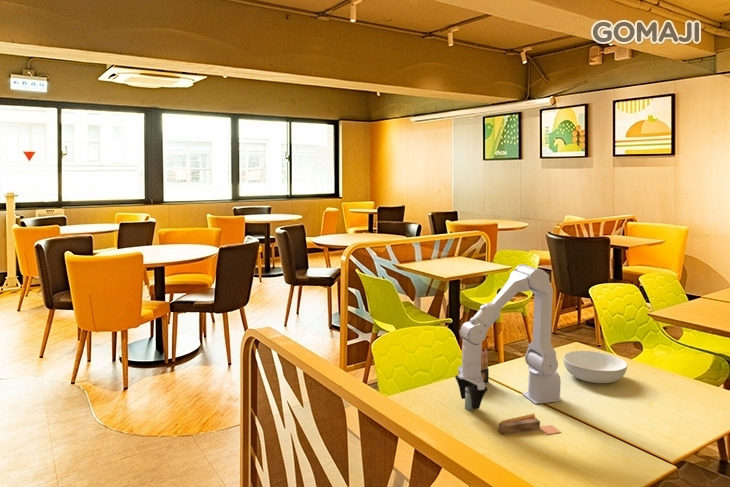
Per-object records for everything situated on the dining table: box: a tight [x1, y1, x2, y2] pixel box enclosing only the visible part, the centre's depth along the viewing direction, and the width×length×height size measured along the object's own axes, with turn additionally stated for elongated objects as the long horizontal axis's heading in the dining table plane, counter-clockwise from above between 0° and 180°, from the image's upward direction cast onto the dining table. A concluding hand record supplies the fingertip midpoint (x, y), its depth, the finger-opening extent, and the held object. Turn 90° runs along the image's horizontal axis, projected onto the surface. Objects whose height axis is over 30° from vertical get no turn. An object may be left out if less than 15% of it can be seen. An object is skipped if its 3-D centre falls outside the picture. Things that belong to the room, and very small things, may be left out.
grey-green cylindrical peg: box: [464, 386, 476, 412], centre depth 175 cm, size 3×3×6 cm
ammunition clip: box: [471, 348, 490, 386], centre depth 194 cm, size 11×2×12 cm, turn 118°
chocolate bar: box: [499, 413, 536, 423], centre depth 166 cm, size 3×12×2 cm, turn 114°
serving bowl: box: [562, 350, 628, 384], centre depth 200 cm, size 21×21×7 cm
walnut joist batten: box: [497, 417, 541, 436], centre depth 161 cm, size 12×2×2 cm, turn 105°
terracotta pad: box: [540, 424, 562, 436], centre depth 162 cm, size 4×4×1 cm
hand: (470, 403), depth 176 cm, fingers open, 7 cm apart
